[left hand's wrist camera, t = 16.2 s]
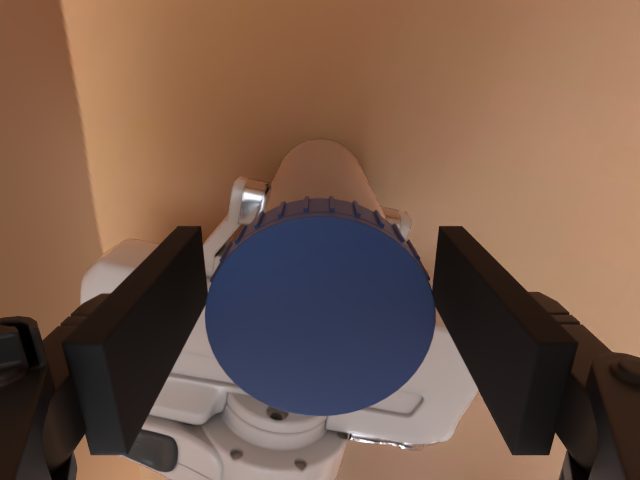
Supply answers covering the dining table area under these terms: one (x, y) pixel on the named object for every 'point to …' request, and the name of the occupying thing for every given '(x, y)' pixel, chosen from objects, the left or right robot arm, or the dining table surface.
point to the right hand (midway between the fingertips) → (323, 196)
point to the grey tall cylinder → (320, 177)
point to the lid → (320, 308)
